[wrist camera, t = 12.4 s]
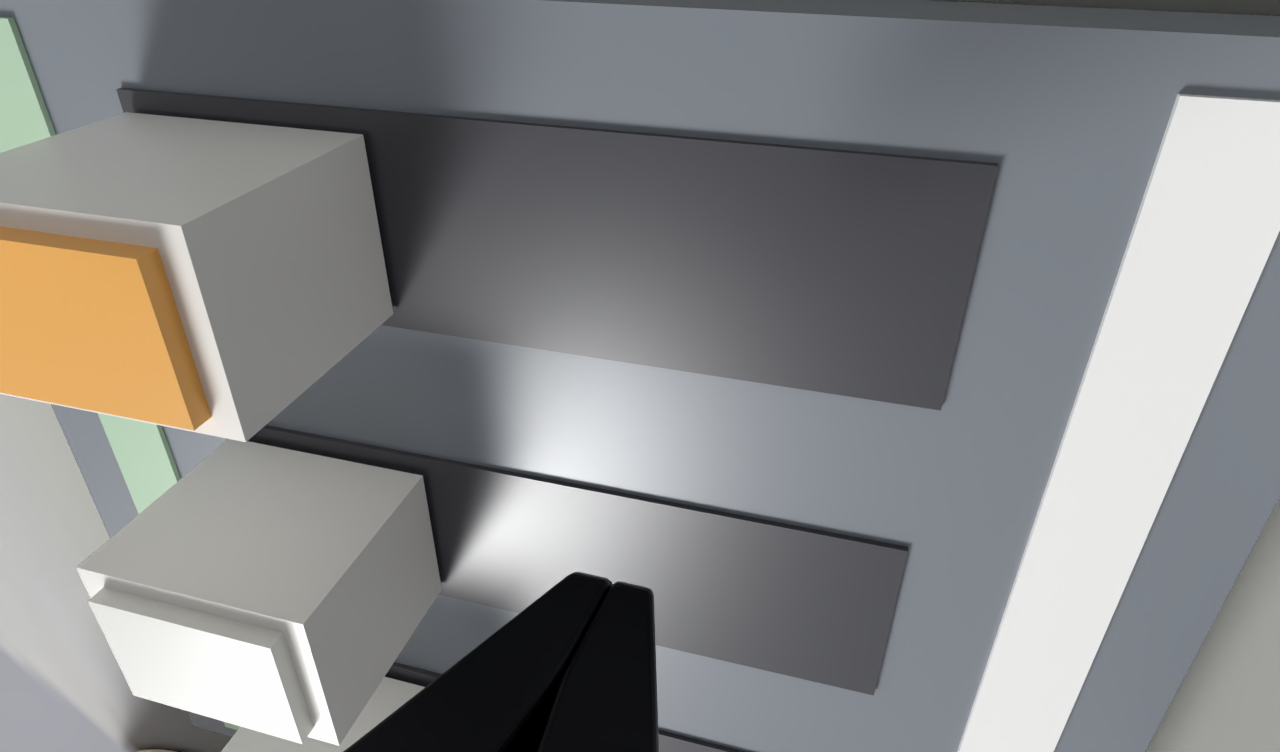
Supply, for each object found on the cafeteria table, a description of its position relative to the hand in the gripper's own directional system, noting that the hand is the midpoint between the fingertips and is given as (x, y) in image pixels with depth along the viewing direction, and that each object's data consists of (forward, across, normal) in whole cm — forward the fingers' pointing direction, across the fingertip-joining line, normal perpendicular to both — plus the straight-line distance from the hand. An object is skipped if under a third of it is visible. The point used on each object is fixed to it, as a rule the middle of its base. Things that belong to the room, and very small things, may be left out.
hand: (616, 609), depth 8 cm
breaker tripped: (+4, +7, -2) cm, 9 cm away
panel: (+6, +3, +4) cm, 8 cm away
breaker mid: (+4, +7, +4) cm, 9 cm away
